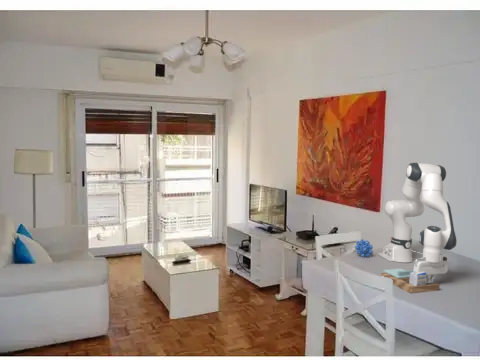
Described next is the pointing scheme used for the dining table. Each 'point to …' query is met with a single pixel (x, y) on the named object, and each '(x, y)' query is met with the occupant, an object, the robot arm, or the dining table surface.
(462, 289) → the dining table surface
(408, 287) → the puzzle board
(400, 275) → the lid
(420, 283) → the medicine box
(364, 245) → the grapes
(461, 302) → the dining table surface
